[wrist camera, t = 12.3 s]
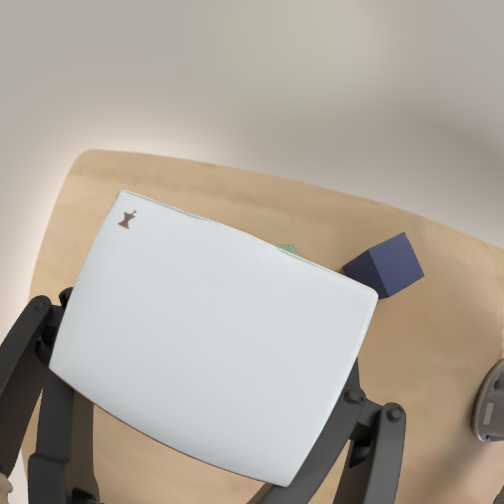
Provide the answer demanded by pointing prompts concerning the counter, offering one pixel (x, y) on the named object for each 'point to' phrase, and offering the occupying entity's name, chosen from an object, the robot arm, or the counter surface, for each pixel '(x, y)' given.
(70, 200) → the counter surface
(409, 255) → the navy block
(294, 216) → the counter surface
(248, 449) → the small box
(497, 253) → the counter surface
